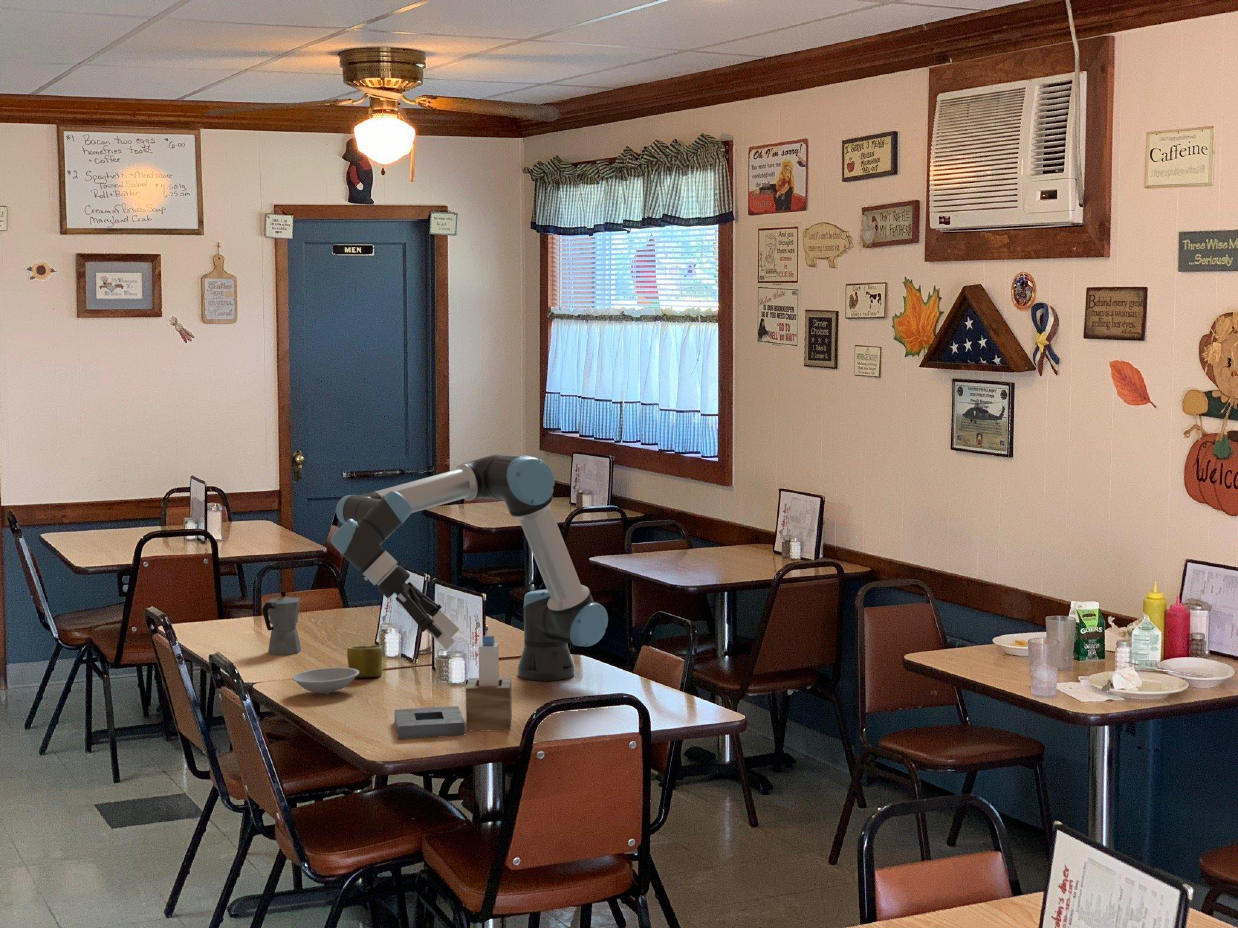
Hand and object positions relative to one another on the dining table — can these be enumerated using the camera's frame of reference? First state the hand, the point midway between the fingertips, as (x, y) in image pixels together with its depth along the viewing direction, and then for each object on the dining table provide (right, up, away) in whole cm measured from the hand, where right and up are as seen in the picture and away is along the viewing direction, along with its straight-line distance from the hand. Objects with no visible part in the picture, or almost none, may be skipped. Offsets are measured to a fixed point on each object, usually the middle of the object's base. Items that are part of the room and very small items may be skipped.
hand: (453, 639), depth 329 cm
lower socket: (-6, -21, 0) cm, 21 cm away
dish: (-36, -18, +33) cm, 52 cm away
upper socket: (+8, -20, +3) cm, 22 cm away
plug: (+8, -13, +2) cm, 16 cm away
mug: (-30, -16, +54) cm, 63 cm away
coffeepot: (-59, -14, +81) cm, 101 cm away
